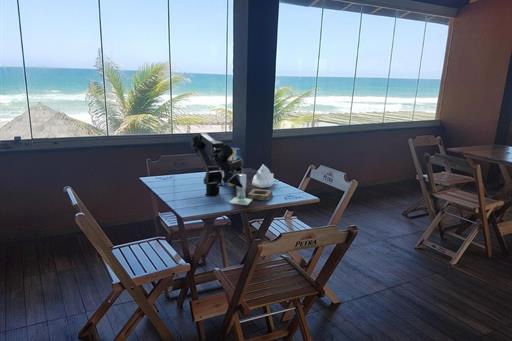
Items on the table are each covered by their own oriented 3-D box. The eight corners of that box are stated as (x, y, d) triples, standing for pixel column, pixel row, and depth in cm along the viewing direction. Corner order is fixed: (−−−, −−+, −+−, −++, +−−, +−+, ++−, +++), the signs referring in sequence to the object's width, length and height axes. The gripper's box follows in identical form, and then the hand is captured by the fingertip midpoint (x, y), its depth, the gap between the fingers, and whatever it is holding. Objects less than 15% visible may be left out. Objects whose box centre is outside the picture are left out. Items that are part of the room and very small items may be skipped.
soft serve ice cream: (278, 189, 227) (279, 168, 220) (254, 192, 224) (254, 171, 218) (273, 179, 238) (273, 159, 231) (250, 181, 235) (249, 161, 228)
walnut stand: (247, 198, 202) (247, 194, 201) (253, 193, 212) (253, 188, 212) (267, 200, 199) (267, 196, 198) (272, 195, 209) (272, 190, 209)
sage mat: (228, 203, 193) (228, 202, 193) (234, 197, 202) (234, 197, 202) (247, 205, 191) (247, 204, 191) (252, 199, 200) (252, 199, 200)
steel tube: (234, 198, 194) (235, 175, 192) (237, 196, 199) (238, 173, 196) (244, 199, 193) (244, 176, 190) (246, 197, 198) (247, 174, 195)
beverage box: (219, 183, 230) (219, 148, 225) (235, 182, 235) (236, 147, 230) (223, 186, 224) (224, 150, 219) (240, 184, 229) (241, 149, 224)
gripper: (228, 156, 183) (249, 180, 183) (240, 150, 201) (259, 172, 200) (213, 171, 187) (234, 194, 187) (225, 163, 204) (244, 185, 204)
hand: (243, 186), depth 194 cm, fingers closed on steel tube, 5 cm apart
